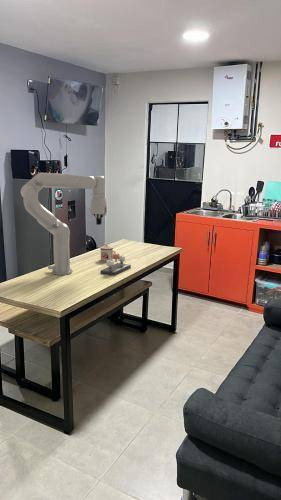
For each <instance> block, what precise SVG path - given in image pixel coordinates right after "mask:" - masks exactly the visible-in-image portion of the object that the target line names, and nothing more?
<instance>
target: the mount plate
mask: <svg viewBox="0 0 281 500" xmlns="http://www.w3.org/2000/svg"><path fill="white" fill-rule="evenodd" d="M131 266H132V265H131V264H127V263H123V264H120V262H115V263H114V266H112V269H109V266H106V267H105V268H103V269H100V274H101V275H108V276H113V277H115V276H117V275H119V274H121V273H124V272H125V271H127V270H129V269H131V268H132V267H131Z"/></svg>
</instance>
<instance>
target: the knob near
mask: <svg viewBox="0 0 281 500" xmlns="http://www.w3.org/2000/svg"><path fill="white" fill-rule="evenodd" d="M114 264H115V260H114V259H113V260H107V261H106V267H109V269H112V266H114Z"/></svg>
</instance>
